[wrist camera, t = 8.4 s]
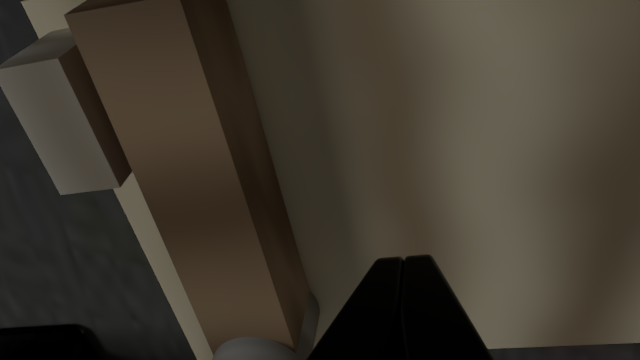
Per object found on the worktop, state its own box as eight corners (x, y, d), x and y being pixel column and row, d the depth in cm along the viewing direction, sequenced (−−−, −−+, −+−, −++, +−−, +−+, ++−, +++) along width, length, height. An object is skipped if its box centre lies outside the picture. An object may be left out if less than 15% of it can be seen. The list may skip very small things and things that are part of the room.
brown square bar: (327, 335, 23) (314, 414, 20) (247, 338, 24) (224, 415, 21) (222, -39, 16) (177, 0, 13) (110, -18, 17) (43, 24, 14)
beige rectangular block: (214, 318, 28) (174, 421, 23) (62, -21, 19) (-45, 37, 15) (654, 292, 23) (712, 413, 19) (703, -163, 15) (827, -141, 10)
